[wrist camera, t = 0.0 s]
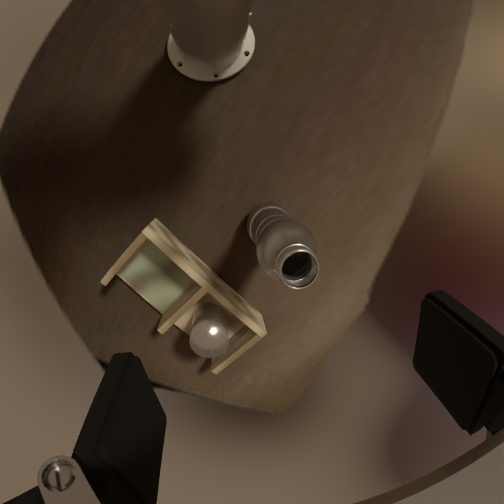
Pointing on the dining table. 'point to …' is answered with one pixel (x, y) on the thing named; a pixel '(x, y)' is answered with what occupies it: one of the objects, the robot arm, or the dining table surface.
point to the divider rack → (185, 289)
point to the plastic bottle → (283, 245)
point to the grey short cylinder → (209, 331)
